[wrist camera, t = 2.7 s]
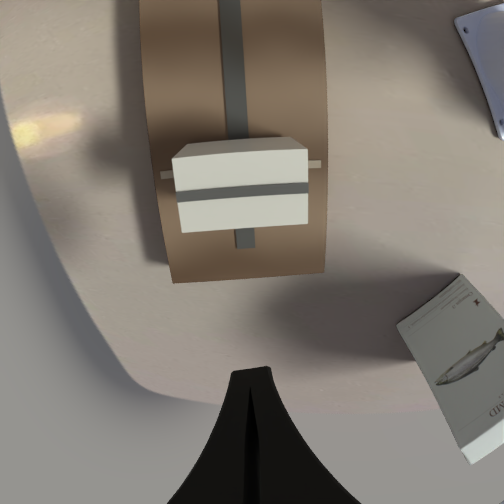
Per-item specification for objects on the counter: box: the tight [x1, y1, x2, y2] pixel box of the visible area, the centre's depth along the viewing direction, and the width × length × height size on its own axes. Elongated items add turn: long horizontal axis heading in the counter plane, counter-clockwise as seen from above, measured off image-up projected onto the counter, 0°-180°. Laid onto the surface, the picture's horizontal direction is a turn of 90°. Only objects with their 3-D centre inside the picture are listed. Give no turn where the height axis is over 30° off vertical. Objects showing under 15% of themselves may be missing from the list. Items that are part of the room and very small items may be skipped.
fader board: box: [139, 0, 328, 283], centre depth 14 cm, size 26×9×2 cm, turn 3°
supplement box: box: [396, 274, 504, 465], centre depth 19 cm, size 7×7×13 cm
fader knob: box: [172, 137, 309, 233], centre depth 14 cm, size 3×5×4 cm, turn 93°
